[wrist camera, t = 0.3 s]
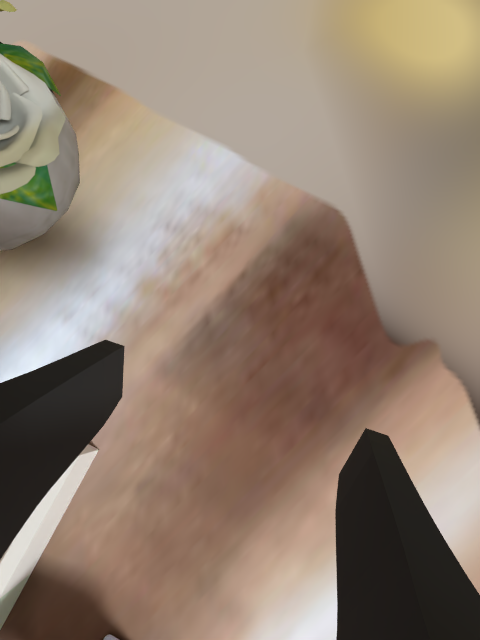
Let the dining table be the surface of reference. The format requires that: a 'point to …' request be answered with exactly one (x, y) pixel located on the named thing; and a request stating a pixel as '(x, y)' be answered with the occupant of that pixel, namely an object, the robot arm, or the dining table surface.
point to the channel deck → (38, 532)
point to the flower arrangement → (32, 148)
